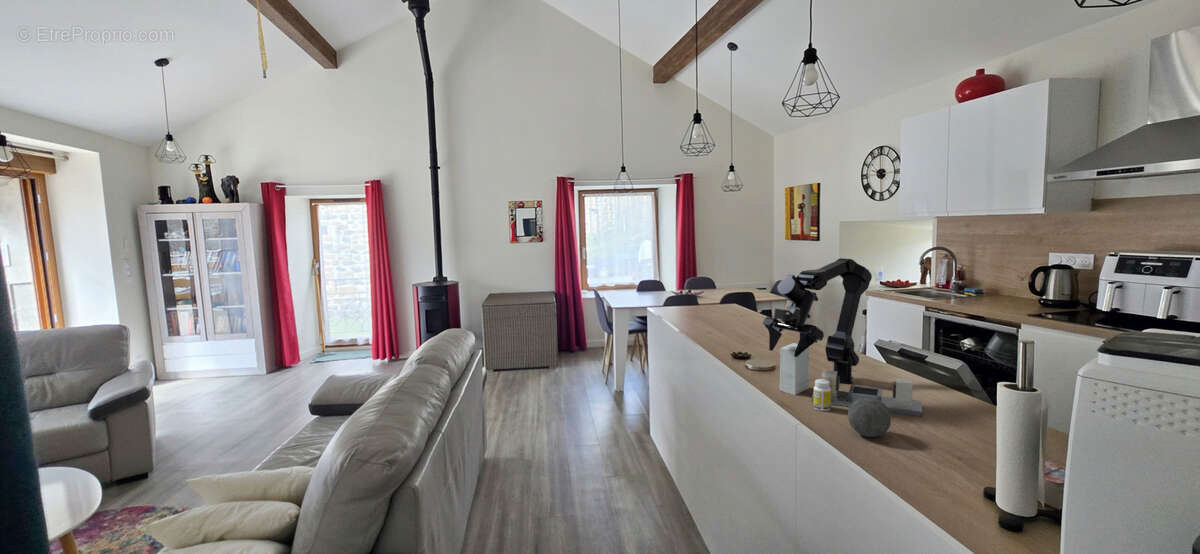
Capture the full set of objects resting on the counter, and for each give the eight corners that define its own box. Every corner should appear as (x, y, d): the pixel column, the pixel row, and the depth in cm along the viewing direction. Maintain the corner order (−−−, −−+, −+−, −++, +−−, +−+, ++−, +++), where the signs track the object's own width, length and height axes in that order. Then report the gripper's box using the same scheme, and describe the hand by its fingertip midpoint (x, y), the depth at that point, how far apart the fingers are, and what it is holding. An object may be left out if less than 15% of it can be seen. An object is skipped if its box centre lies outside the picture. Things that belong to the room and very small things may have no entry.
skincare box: (792, 385, 177) (793, 342, 175) (809, 389, 173) (810, 345, 171) (778, 391, 172) (779, 347, 170) (795, 395, 167) (796, 350, 166)
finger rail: (815, 392, 170) (815, 366, 168) (920, 406, 155) (921, 378, 154) (811, 401, 162) (811, 374, 161) (921, 416, 148) (923, 387, 146)
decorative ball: (878, 447, 130) (879, 408, 129) (839, 434, 138) (840, 398, 137) (897, 436, 136) (899, 399, 135) (859, 424, 144) (860, 389, 143)
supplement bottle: (831, 406, 157) (831, 379, 156) (830, 412, 153) (831, 384, 152) (813, 404, 159) (814, 377, 158) (812, 410, 155) (813, 382, 154)
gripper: (761, 293, 169) (744, 337, 166) (813, 300, 153) (794, 349, 150) (781, 308, 174) (764, 351, 172) (832, 316, 159) (814, 363, 156)
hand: (782, 353), depth 162 cm, fingers open, 9 cm apart
